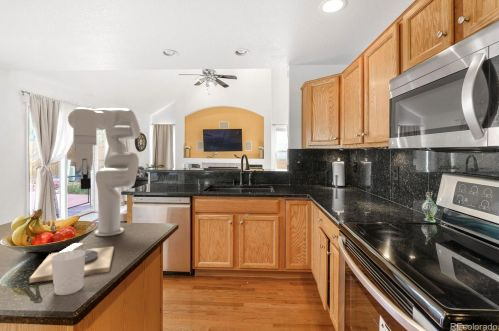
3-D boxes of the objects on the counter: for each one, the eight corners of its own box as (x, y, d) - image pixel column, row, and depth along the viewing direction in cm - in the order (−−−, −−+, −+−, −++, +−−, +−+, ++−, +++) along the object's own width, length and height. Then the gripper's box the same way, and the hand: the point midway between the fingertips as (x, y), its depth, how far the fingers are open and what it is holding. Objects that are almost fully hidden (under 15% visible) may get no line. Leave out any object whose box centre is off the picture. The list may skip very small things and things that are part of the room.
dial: (69, 252, 98) (69, 238, 97) (103, 252, 99) (103, 238, 98) (43, 269, 84) (43, 252, 83) (83, 268, 85) (83, 251, 85)
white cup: (48, 299, 70) (47, 262, 70) (56, 285, 77) (55, 251, 77) (82, 293, 73) (82, 257, 73) (87, 280, 80) (87, 248, 80)
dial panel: (113, 250, 106) (113, 238, 106) (109, 271, 87) (109, 258, 87) (50, 257, 98) (49, 245, 97) (29, 283, 78) (29, 268, 78)
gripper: (75, 141, 106) (75, 187, 106) (71, 140, 93) (72, 192, 93) (96, 142, 109) (97, 186, 110) (96, 140, 96) (96, 190, 97)
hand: (85, 188), depth 102 cm, fingers closed
